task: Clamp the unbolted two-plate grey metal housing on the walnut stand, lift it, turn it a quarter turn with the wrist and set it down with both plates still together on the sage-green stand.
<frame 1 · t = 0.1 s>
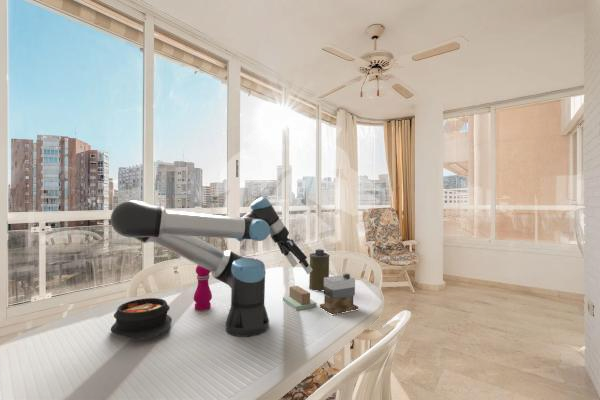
hand: (302, 268, 130), 15 cm above the table, tool tilted 35°, fingers open, 13 cm apart
pepper mill: (202, 308, 123), on the table
stand a: (338, 308, 125), on the table
stand b: (299, 303, 130), on the table
base plate: (339, 294, 125), point 6 cm above the table, touching cover plate, stand a
canister: (319, 288, 154), on the table
casserole: (142, 329, 102), on the table
cover plate: (339, 286, 125), point 9 cm above the table, touching base plate
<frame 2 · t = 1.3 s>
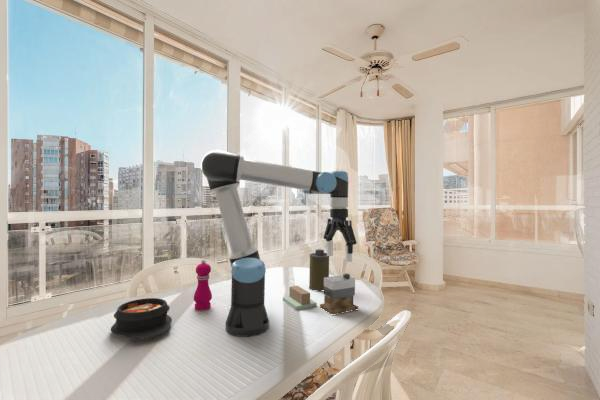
hand: (338, 258, 125), 21 cm above the table, tool pointing down, fingers open, 13 cm apart
nothing on the table moved.
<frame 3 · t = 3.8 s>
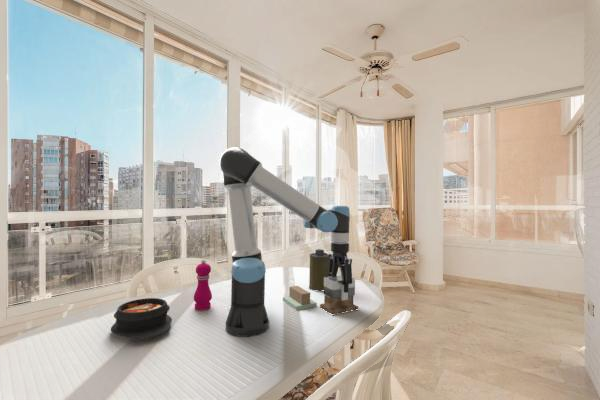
hand: (339, 296, 125), 5 cm above the table, tool pointing down, fingers closed on base plate, cover plate, 7 cm apart
base plate: (339, 294, 125), point 6 cm above the table, touching cover plate, gripper, stand a
cover plate: (339, 286, 125), point 9 cm above the table, touching base plate, gripper
everything else where it was.
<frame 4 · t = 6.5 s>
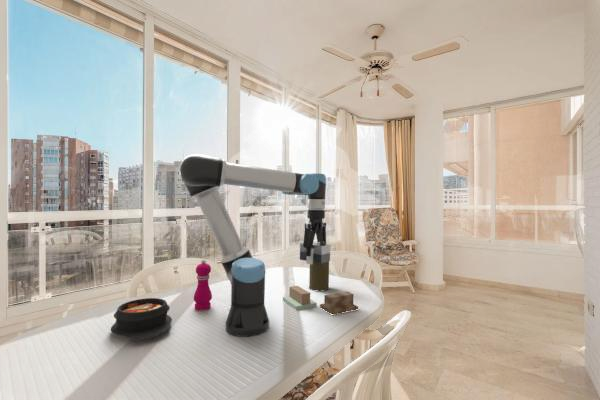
hand: (314, 262, 128), 19 cm above the table, tool pointing down, fingers closed on base plate, cover plate, 7 cm apart
base plate: (314, 260, 128), point 20 cm above the table, touching cover plate, gripper
cover plate: (315, 252, 128), point 23 cm above the table, touching base plate, gripper
everything else where it was.
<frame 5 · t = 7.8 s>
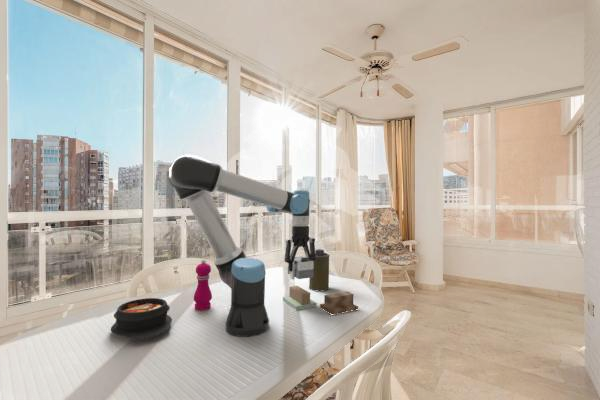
hand: (300, 277, 131), 11 cm above the table, tool pointing down, fingers closed on base plate, cover plate, 7 cm apart
base plate: (300, 275, 131), point 12 cm above the table, touching cover plate, gripper
cover plate: (300, 267, 131), point 16 cm above the table, touching base plate, gripper
everything else where it was.
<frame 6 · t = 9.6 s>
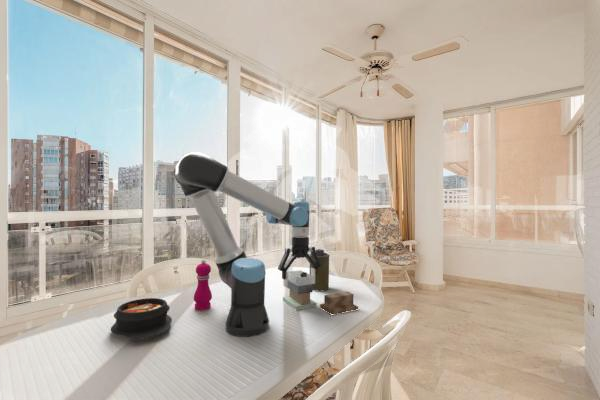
hand: (299, 284, 130), 8 cm above the table, tool pointing down, fingers open, 13 cm apart
base plate: (299, 289, 130), point 6 cm above the table, touching cover plate, stand b
cover plate: (299, 281, 130), point 9 cm above the table, touching base plate
everything else where it was.
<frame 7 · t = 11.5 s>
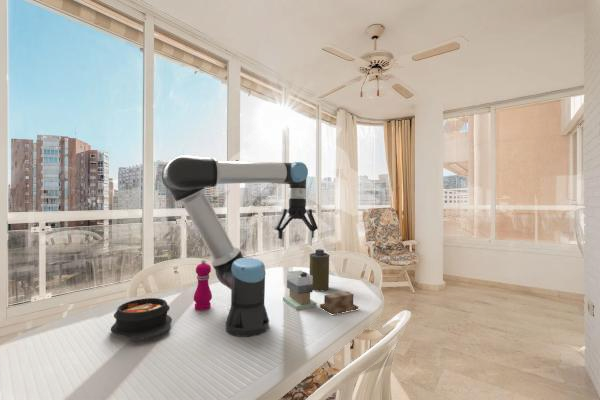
hand: (296, 245, 132), 25 cm above the table, tool pointing down, fingers open, 13 cm apart
nothing on the table moved.
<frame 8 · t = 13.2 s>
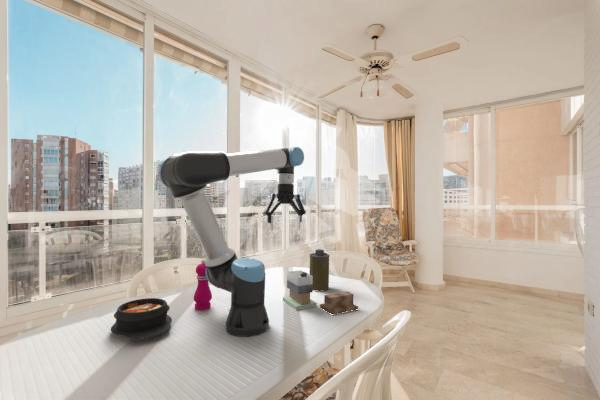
hand: (284, 229, 136), 32 cm above the table, tool pointing down, fingers open, 13 cm apart
nothing on the table moved.
at the end: base plate 0.1 cm off-centre on the stand b, point 6.0 cm above the stand b's base; cover plate 0.0 cm off-centre on the base plate, point 3.5 cm above the base plate's base; cover plate tilted 0° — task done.
